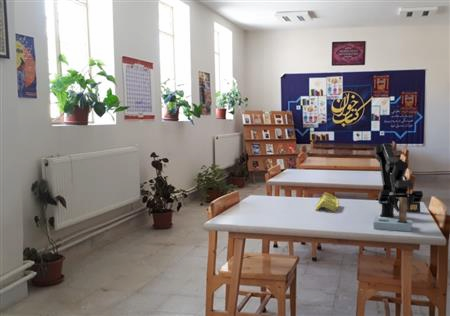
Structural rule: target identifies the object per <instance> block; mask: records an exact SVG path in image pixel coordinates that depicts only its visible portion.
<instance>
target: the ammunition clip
mask: <svg viewBox="0 0 450 316" xmlns="http://www.w3.org/2000/svg"><path fill="white" fill-rule="evenodd" d="M413 191H420V189H418V190H416V189H414V190H413V189H410V190H409V189H408V191H407V192H406V193H408V194H412V192H413ZM407 213H421V201H420V202H413V203H411V206H410V211H409V212H408V210H407Z"/></svg>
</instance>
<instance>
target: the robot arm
mask: <svg viewBox="0 0 450 316" xmlns="http://www.w3.org/2000/svg"><path fill="white" fill-rule="evenodd" d="M373 155H374V156H375V160H377V161H378V163H379V168H380V175H381V182H382V188H381V190H380V191H379V193H378V198H377V199H378V200H377V201H378V202H377V203H378V204H379V205H381V213H380V217H384V218H387V217H388V218H394V217H395V215H396V214H395V213H394V211H396V212H397V213H399V198H400V197H405V198H407V210H408V212H407V213H410V212H409V211H410V206H411V203H413V202H420V203H421V201H422V199H423V197H424V192H423V191H422V190H419V191H418V190H416V191H414V190H412V194H410V193H409V194H408V193H407V191H408V190H409V188H412V187H413V185H414V184H413V183H414V182H413V180H412V178H411V179H409V178H408V179H404V177H405V176H406V173H407V170H408V168H409V165H408V164H407V162H406V161H404V160H403V159H402V158H397V157H396V154H395V152H394V150H393V144H391V143H382V144H380V145H376V146H375V147H374V149H373Z"/></svg>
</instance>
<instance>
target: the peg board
mask: <svg viewBox="0 0 450 316" xmlns="http://www.w3.org/2000/svg"><path fill="white" fill-rule="evenodd" d="M373 229H375V230H387V231H388V230H389V231H397V230H398V231H399V232H400V231H401V232H409V231H411V232H412V231H413V230H412V229H413V220H411V219H406V223H399V218H387V217H375V218H374V221H373ZM398 231H397V232H398Z"/></svg>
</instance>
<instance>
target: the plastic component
mask: <svg viewBox="0 0 450 316" xmlns="http://www.w3.org/2000/svg"><path fill="white" fill-rule="evenodd" d="M339 204H340V200H339V199H338V198H337V197H336V196H334V195H332V193H329V192H324V193H323V194H322V196H321V197H320V198H319V200H318V202H317V204H316V206H315V209H314V210H315V211H319V209H321V208H322V207H323V208H325V209H327V210H329V211H331V212H334V211H335V212H337V211H338V208H339V206H340V205H339Z"/></svg>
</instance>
